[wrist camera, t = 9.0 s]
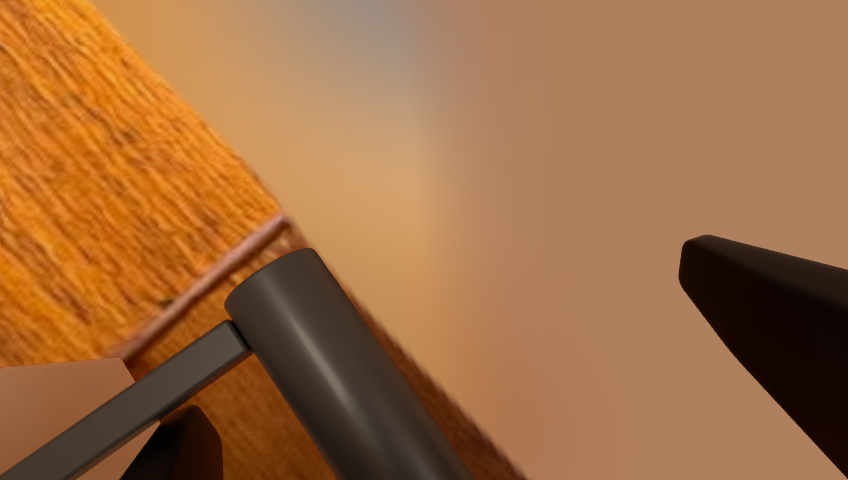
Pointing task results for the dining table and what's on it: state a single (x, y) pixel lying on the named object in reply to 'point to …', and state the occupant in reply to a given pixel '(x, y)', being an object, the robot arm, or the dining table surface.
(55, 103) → the dining table surface
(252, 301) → the drawer
